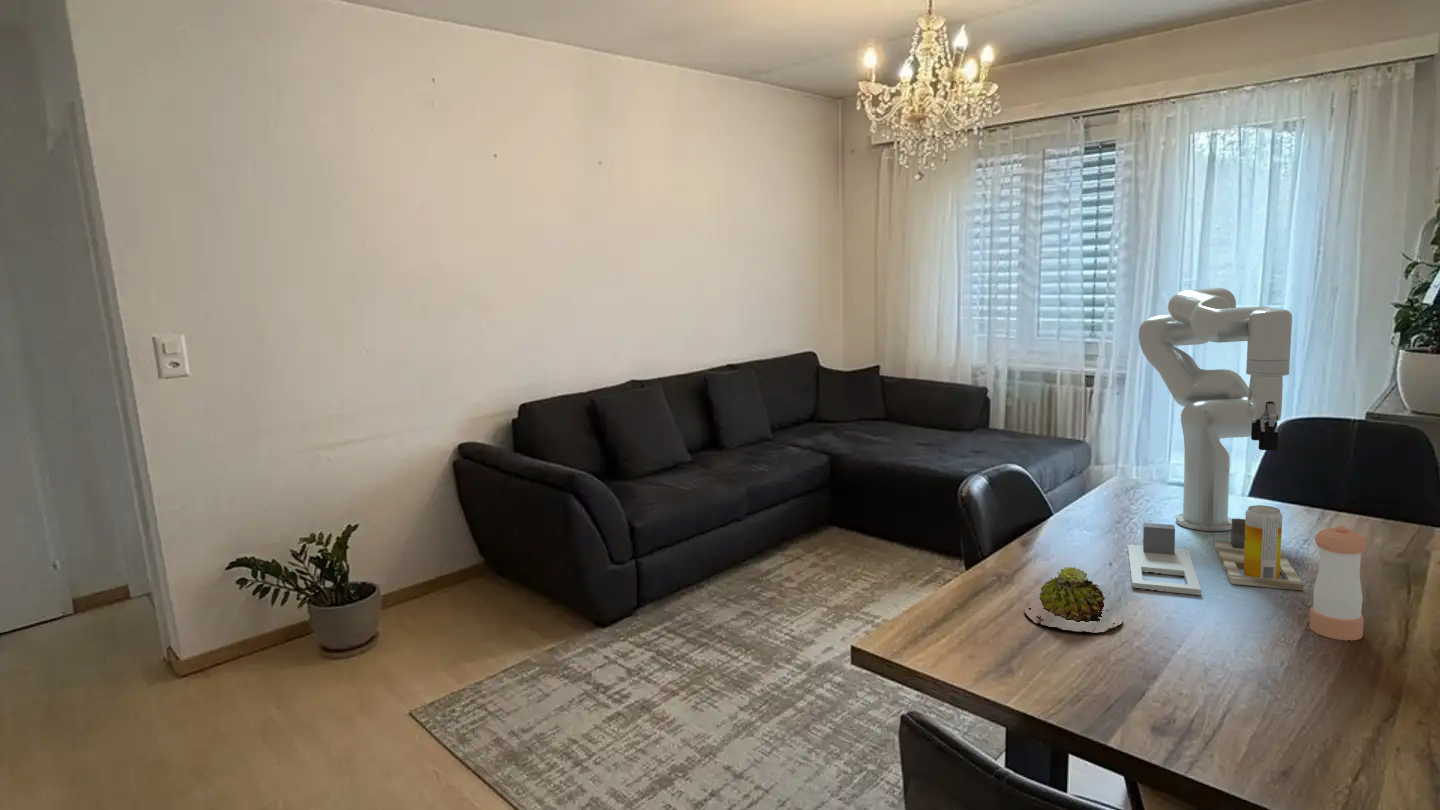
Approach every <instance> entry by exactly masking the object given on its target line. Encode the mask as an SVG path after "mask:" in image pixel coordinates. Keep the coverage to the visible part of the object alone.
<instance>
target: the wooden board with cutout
mask: <svg viewBox="0 0 1440 810" xmlns="http://www.w3.org/2000/svg"><path fill="white" fill-rule="evenodd" d="M1231 519H1232V528H1231V530H1230V532H1231V533H1230V536H1231V537H1230V541H1225V540H1214V542H1213V543H1214V549H1215V550H1216V553H1217V555H1218V558H1219V560H1220V562H1221V565H1222V568H1223V569H1224V572H1225V574H1226V577H1227V580H1228V581H1229V583H1230V584H1231V585H1240V586H1250V587H1259V588H1260V587H1262V588H1271V589H1273V588H1274V589H1282V590H1293V591H1303V592H1304V589H1305V588H1304V587H1305V585H1304V583H1303V581H1302V580H1301V578H1300V577H1299V575H1298V574H1297V573H1296V571H1295V569H1294V568H1293V566H1292V564H1291V563H1290V562H1289V560H1288V558H1287V557H1286V556H1285V554H1284V553H1283V550H1281V556H1280V575H1282V577H1283V579H1281V578H1279V579H1272V578H1261V577H1250V576H1245V575H1241V572H1240V570H1239V569H1243V568H1244V543H1245V519H1243V518H1231Z"/></svg>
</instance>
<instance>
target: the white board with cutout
mask: <svg viewBox="0 0 1440 810" xmlns="http://www.w3.org/2000/svg"><path fill="white" fill-rule="evenodd" d="M1142 527H1143V528H1142V529H1143V530H1142V545H1137V544H1127V555H1128V554H1129V556H1128V563H1129V562H1130V565H1129V571H1131V573H1130V579H1131V580H1132V582H1131V587H1132V586H1133V587H1138V588H1144V589H1143V590H1145V589H1151V590H1150V591H1154V590H1157V592H1164V591H1165V592H1166V593H1176V594H1177V593H1178V594H1185V595H1186V594H1187V595H1194V596H1201V595H1202V587H1201V585H1200V581H1199V579H1198V576H1197V575H1198V574H1197V573H1196V570H1195V567H1194V563H1193V561H1192V560H1193V559H1192V556H1191V555H1190V551H1189V549H1187V548H1177V547H1176V546H1175V545H1176V544H1175V543H1176V540H1175V539H1176V528H1175V525H1174V524H1165V523H1152V522H1151V523H1148V522H1143V525H1142ZM1175 547H1176V548H1175ZM1142 571H1148V572H1154V573H1153V574H1158V573H1161V574H1160V575H1168V576H1169V575H1171V576H1182V577H1183V578H1184V580H1185V583H1175V582H1164V581H1155V580H1145V579H1144V577H1143V572H1142Z"/></svg>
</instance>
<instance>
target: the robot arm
mask: <svg viewBox="0 0 1440 810" xmlns="http://www.w3.org/2000/svg"><path fill="white" fill-rule="evenodd" d="M1167 310H1168V312H1169V314H1161V315H1157V316H1153V317H1150V318H1147V319H1146V320H1143V322H1142V323H1141V325H1140V326H1139V328H1138V341H1139V347H1140V348H1141V351H1142V353H1143V355H1144V357H1145V358H1146V360H1147V361H1148V362H1149V364H1150V365H1152V366H1153V368H1155V370H1156V371H1157V372H1158V373H1159V375H1160V377H1161V378H1162V380H1163V383H1164V384H1165V386H1166V387H1167V389H1168V391H1169V393H1170V395H1171V396H1172V397H1173V400H1174V401H1175V402H1176V403H1177V404H1179V406H1181V407H1183V408H1182V411H1181V413H1180V423H1181V429H1182V435H1183V443H1184V444H1183V445H1184V447H1183V448H1184V456H1183V457H1184V459H1183V461H1184V462H1183V463H1184V467H1183V503H1182V505H1183V507H1182V513H1179V514H1177V515H1176V516H1175V522H1176V523H1177V524H1178V525H1180V526H1181V527H1185V528H1187V529H1191V530H1198V531H1203V532H1204V531H1205V532H1225V531H1231V528H1232V518H1231V517H1229V491H1230V490H1229V489H1230V488H1229V487H1230V462H1231V459H1230V454H1229V452H1228V450H1227V448H1225V446H1224V445H1223V444H1222V442H1221V441H1220V440H1221V439H1230V438H1232V439H1233V438H1247V437H1250V438H1251V440H1252V441H1258V450H1259V451H1272V452H1273V451H1274V452H1275V451H1277V450H1278V443H1279V441H1278V440H1279V427H1278V421H1280V420H1281V419H1282V418H1281V417H1282V408H1283V390H1284V387H1283V386H1284V385H1283V384H1284V383H1283V381H1284V378H1283V377H1284V376H1289V375H1290V365H1291V364H1290V363H1291V361H1290V360H1291V347H1292V346H1291V345H1292V329H1293V328H1292V327H1293V315H1292V312H1291V311H1290V310H1287V309H1281V308H1277V309H1276V308H1271V307H1267V306H1251V307H1250V306H1249V307H1245V306H1244V307H1237V300H1236V297H1235V296H1234V294H1233V293H1232V292H1231V291H1230V290H1229V289H1226V288H1223V287H1211V288H1195V289H1186V290H1183V291H1180V292H1177V293H1176V294H1174V295H1173V296H1172V297H1171V298H1170V300H1169V301H1168V305H1167ZM1209 342H1211V343H1231V342H1232V343H1235V342H1236V343H1237V342H1247V347H1246V348H1247V349H1246V366H1245V367H1246V371H1245V373H1246V375H1248V376H1250V377H1249V378H1250V379H1249V386H1248V384H1247V383H1246V381H1245V380H1244V378H1243V377H1242V376H1241V375H1240V374H1239V373H1237V372H1236V371H1234V370H1231V369H1202V368H1200V366H1198V364H1197V363H1196V362H1195V360H1194V358H1193V357H1192V356H1191V355H1189V354H1188V353H1187V352H1186V351H1183V350H1182V349H1180V348H1178V346H1179V347H1180V346H1193V345H1194V346H1195V345H1204V344H1207V343H1209Z"/></svg>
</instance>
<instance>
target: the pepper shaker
mask: <svg viewBox="0 0 1440 810" xmlns="http://www.w3.org/2000/svg"><path fill="white" fill-rule="evenodd" d="M1314 541H1315V544H1316V545H1317V547H1319V548H1320V550H1319V563H1318V564H1319V565H1318V572H1317V576H1316V579H1315V582H1314V587H1313V598H1312V599H1313V605H1312V606H1310V609H1309V625H1308V627H1309V629H1310V630H1311V631H1312V632H1314V633H1316V634H1317V635H1320V636H1322V637H1324V638H1329V639H1333V640H1337V641H1338V640H1339V641H1348V640H1350V641H1358V640H1361V639H1362V637H1363V636H1364V634H1363V633H1364V621H1365V620H1364V615H1363V614H1362V606H1363V599H1364V597H1363V592H1362V584H1361V578H1360V577H1361V559H1362V558H1361V557H1362V553H1364V552H1365V551H1366V549H1368V542H1367V538H1365V536H1363V534H1361V533H1359V532H1356V531H1355V530H1352V529H1348V527H1346V526H1344V525H1337V526H1336V527H1330V528H1325V529H1321V530H1319V531H1318V533H1316V534H1315V537H1314Z"/></svg>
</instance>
